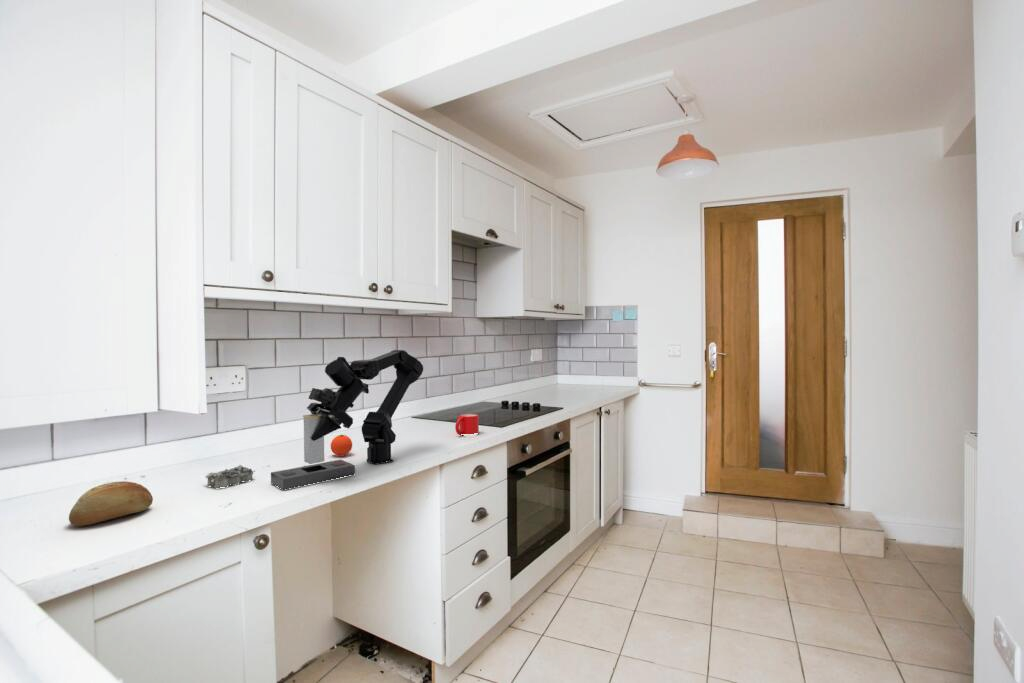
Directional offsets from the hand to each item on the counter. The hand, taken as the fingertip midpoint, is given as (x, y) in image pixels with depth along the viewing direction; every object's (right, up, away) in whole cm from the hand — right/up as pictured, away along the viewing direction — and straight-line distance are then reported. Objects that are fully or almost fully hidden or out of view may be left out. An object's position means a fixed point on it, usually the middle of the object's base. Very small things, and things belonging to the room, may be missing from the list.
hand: (309, 438), depth 139 cm
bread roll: (-32, -12, -28) cm, 44 cm away
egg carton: (-21, -12, -2) cm, 24 cm away
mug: (+38, -11, +62) cm, 73 cm away
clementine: (-1, -11, +29) cm, 31 cm away
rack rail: (+1, -12, +1) cm, 12 cm away
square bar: (+1, -7, +1) cm, 7 cm away
